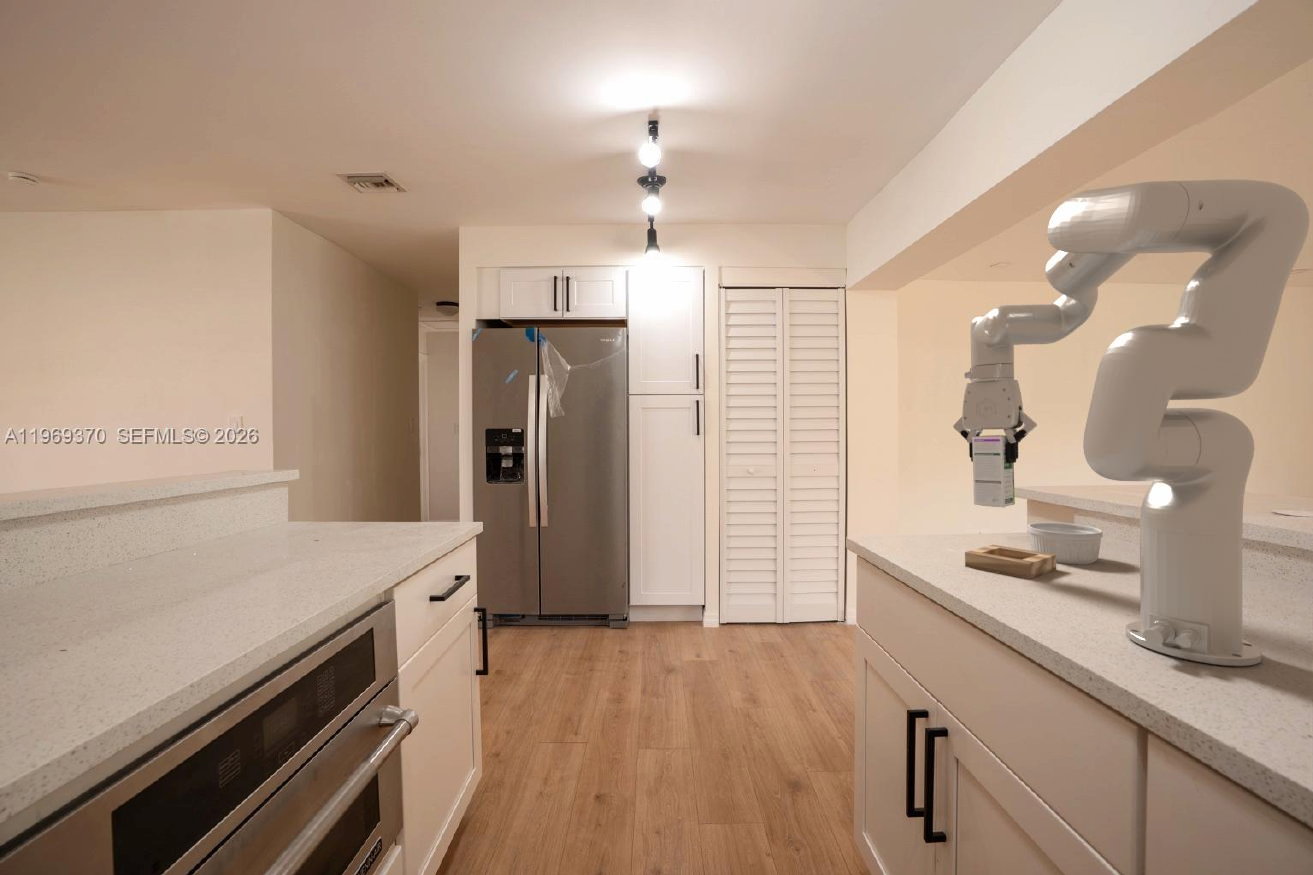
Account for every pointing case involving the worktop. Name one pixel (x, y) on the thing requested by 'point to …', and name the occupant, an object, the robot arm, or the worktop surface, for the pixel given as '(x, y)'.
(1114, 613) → the worktop surface
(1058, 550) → the ramekin
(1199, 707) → the worktop surface
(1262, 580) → the worktop surface
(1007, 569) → the holder block
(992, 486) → the syrup box
